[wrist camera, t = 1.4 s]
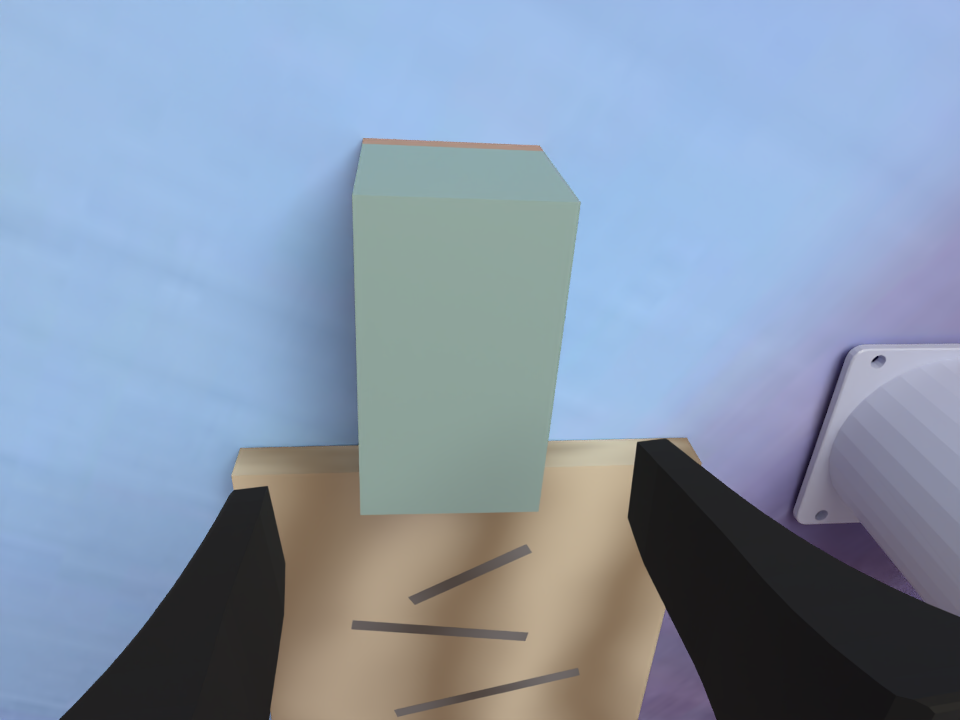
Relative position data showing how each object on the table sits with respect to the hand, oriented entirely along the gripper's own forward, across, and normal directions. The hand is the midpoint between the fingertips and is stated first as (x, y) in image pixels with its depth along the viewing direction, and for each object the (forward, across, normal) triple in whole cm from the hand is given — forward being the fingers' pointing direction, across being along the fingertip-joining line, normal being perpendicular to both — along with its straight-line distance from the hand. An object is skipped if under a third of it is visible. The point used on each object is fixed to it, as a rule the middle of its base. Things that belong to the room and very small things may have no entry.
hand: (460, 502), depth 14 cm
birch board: (+9, -1, +15) cm, 18 cm away
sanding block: (+10, -1, 0) cm, 10 cm away
